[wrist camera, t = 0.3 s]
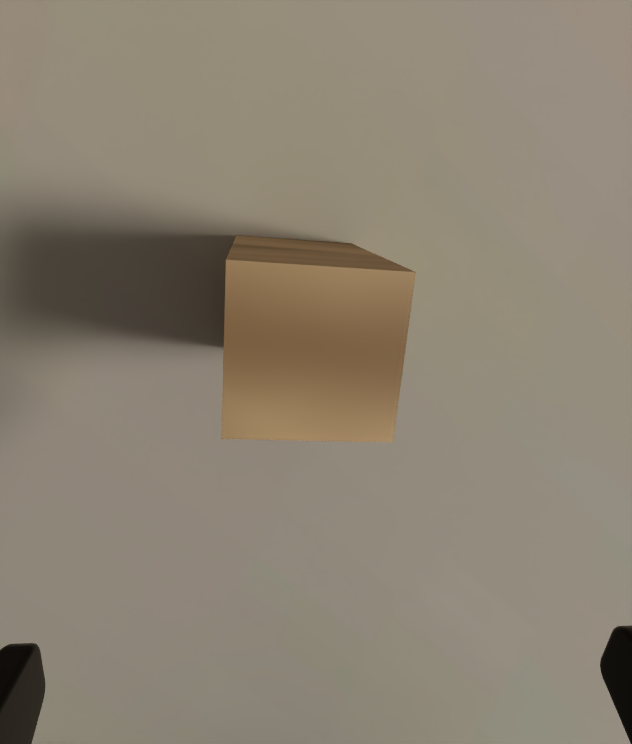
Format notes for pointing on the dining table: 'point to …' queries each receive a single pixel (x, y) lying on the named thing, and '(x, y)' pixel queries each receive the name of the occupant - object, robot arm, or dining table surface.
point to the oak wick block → (312, 341)
